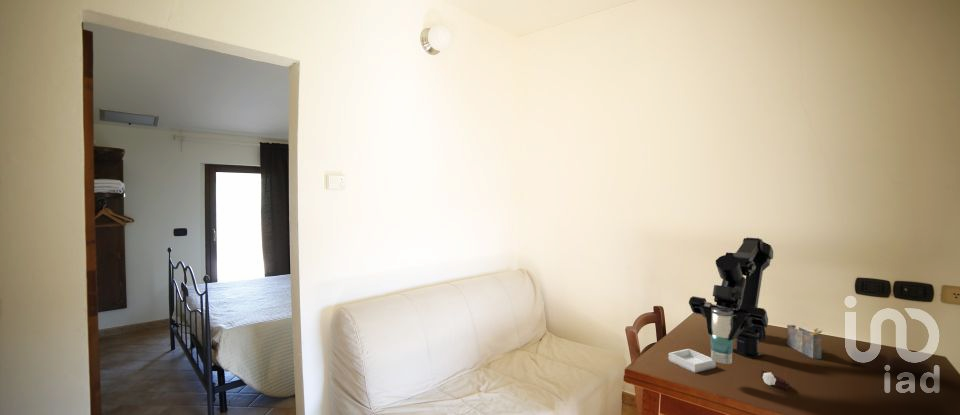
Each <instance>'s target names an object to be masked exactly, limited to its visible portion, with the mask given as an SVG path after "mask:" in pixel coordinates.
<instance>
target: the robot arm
mask: <svg viewBox="0 0 960 415" xmlns="http://www.w3.org/2000/svg"><path fill="white" fill-rule="evenodd" d="M773 259H774V249H773V247H772V245H770V244H769V243H767V242H764V241H763V239H762V238H759V237H745V238H743V239H742V244H741V245H740V247H739V248H738V249H737V250H736V251H735V252H726V253H725V255H721V256H719V257H718V258H717V259H715V266H716V268H717V272H718V274H719V278H720V279H722V280H721V281H722V282H721V284H719V285H717V284H714V285H713V289H712V296H713V297H714V298H713V301H714V303H716V304H713V303H712V302H709V301H707V300H706V297H699V296H696V295H695V296H694V295H693V296H691V297H689V300H688V304H689V306H690V309H691V312H692V313H694V314H696V315H701V316H702V317H703V318H705V320H706V327H707V334H708V335H710V336H711V326H712V312H711V309H712V308H725V309H729V310H732V311H733V330H732V334H731V340H733V341H734V340H735V339H736V348H734V349H733V352H734V353H737V354H738V355H741V356H744V357H747V358H750V359H754V358H755V359H756V358H759V357H763V356H764V353H762V352H759V342H760V341H762V340H767V334H766V333H767V332H766V328H767V327H768V324H769V317H768V313H767V310H766V309H765V308H762V307H758V306H759V300H760V294H761V293H760V292H761V287H762V279H763V275H764V274H763V273H764V271H765V270H766V269H767V268H768V267H769V266H770V265H771V264H770V263H771V260H773Z"/></svg>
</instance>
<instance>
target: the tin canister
mask: <svg viewBox="0 0 960 415" xmlns="http://www.w3.org/2000/svg"><path fill="white" fill-rule="evenodd" d="M711 312H712V326H711V334H710V358H711V359H712V360H713V361H716V363H719V364H724V365H730V364H733V345H734V344H733V343H734V340H731V334H732V330H733V311H732V310H729V309H725V308H712V309H711Z"/></svg>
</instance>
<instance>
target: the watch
mask: <svg viewBox="0 0 960 415" xmlns="http://www.w3.org/2000/svg"><path fill="white" fill-rule="evenodd" d="M760 378H762V379H763V382H764V383H765V384H766V385H768V386H772V385H774V386H776V387H779V388H780V389H783V390H789V387H790V383H789V382H788V381H786V380H785V379H783V378H781V377H779V376H777V375H775V374H773V373H772V372H771V371H770V372H768V371H764V370H761V372H760Z"/></svg>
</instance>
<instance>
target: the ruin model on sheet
mask: <svg viewBox="0 0 960 415" xmlns="http://www.w3.org/2000/svg"><path fill="white" fill-rule="evenodd" d="M786 326H787V329H786V346H788V347H789V348H791V349H794V350H796V351H798V352H799V353H802V354H803V355H806V357H809V358H811V359H815V360H817V359H818V360H819V359H820V360H821V359H822V347H823V346H822V345H823V344H822V340H823V337H822V336H820V335H819V334H822V332H823V330H819V328H814V329H813V331H812V332H811V331H810V330H807V329H804V328H802V327H798V328H796V326H797V325H795V324H787V325H786ZM818 335H819V336H818Z"/></svg>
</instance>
